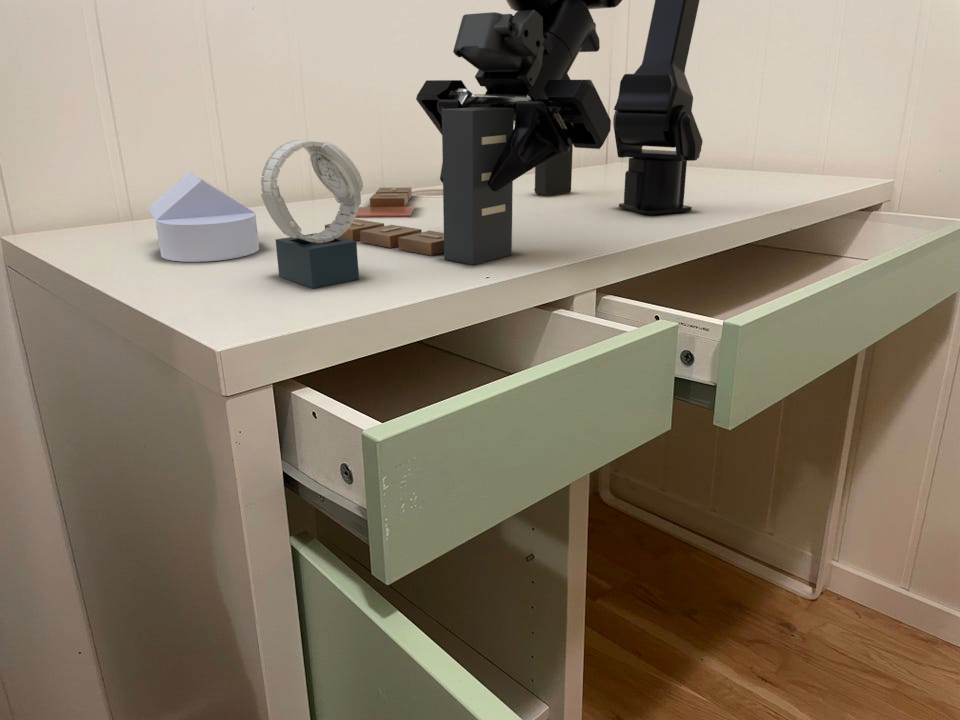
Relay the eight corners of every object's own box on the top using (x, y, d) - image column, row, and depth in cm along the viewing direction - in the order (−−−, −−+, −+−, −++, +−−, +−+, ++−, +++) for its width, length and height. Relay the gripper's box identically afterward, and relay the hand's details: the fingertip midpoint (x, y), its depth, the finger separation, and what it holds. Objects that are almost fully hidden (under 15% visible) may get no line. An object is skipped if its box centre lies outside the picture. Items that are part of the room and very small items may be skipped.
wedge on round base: (152, 240, 80) (166, 265, 69) (142, 174, 78) (154, 189, 67) (241, 232, 84) (268, 255, 73) (234, 168, 82) (260, 182, 71)
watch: (378, 275, 65) (371, 139, 62) (292, 292, 60) (278, 145, 57) (342, 264, 69) (333, 136, 66) (259, 279, 64) (244, 141, 61)
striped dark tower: (443, 259, 71) (441, 109, 66) (483, 249, 75) (483, 106, 70) (473, 265, 69) (473, 110, 64) (512, 254, 72) (514, 107, 68)
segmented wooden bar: (463, 248, 75) (462, 234, 75) (431, 255, 72) (431, 241, 72) (357, 229, 85) (356, 217, 84) (325, 236, 82) (324, 223, 81)
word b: (410, 216, 93) (409, 205, 92) (351, 216, 93) (350, 205, 92) (421, 196, 108) (420, 186, 108) (370, 196, 108) (370, 187, 108)
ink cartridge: (560, 191, 111) (561, 133, 109) (571, 193, 110) (573, 134, 107) (534, 194, 109) (534, 135, 106) (545, 196, 107) (546, 135, 104)
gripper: (426, -13, 72) (342, 117, 68) (599, -31, 61) (510, 124, 57) (482, 77, 80) (410, 198, 76) (643, 76, 69) (568, 218, 65)
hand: (467, 185), depth 68 cm, fingers open, 5 cm apart
